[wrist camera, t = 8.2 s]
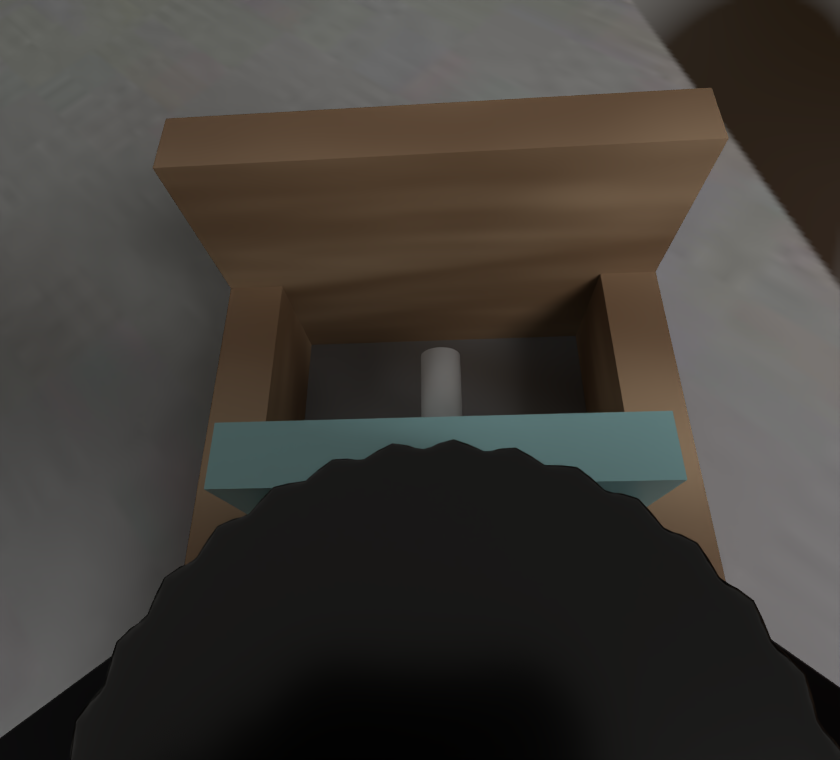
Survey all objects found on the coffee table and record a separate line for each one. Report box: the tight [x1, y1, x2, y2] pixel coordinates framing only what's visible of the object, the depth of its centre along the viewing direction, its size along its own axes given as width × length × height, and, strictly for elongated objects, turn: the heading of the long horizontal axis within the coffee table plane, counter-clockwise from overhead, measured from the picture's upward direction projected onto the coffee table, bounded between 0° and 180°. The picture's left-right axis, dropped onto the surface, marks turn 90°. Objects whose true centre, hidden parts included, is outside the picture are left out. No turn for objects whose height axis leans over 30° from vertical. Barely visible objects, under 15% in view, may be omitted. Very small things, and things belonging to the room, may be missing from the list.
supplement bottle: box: [69, 439, 840, 760], centre depth 8 cm, size 7×7×12 cm
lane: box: [153, 88, 728, 582], centre depth 12 cm, size 20×12×9 cm, turn 0°
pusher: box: [204, 347, 687, 514], centre depth 13 cm, size 4×8×7 cm, turn 90°
